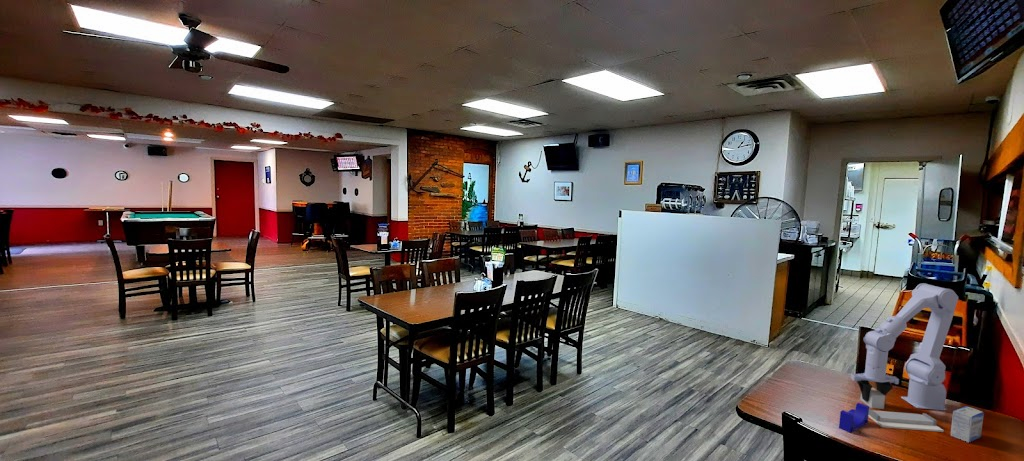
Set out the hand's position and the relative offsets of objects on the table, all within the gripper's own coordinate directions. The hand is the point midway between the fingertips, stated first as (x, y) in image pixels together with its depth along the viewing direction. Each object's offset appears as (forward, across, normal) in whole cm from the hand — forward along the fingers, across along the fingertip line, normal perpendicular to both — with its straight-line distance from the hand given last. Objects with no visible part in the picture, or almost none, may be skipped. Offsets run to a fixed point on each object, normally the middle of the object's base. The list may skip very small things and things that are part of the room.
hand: (872, 400), depth 155 cm
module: (+1, 0, 0) cm, 1 cm away
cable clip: (+2, +16, +16) cm, 23 cm away
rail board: (+1, -2, +11) cm, 11 cm away
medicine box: (+2, -16, +18) cm, 24 cm away
